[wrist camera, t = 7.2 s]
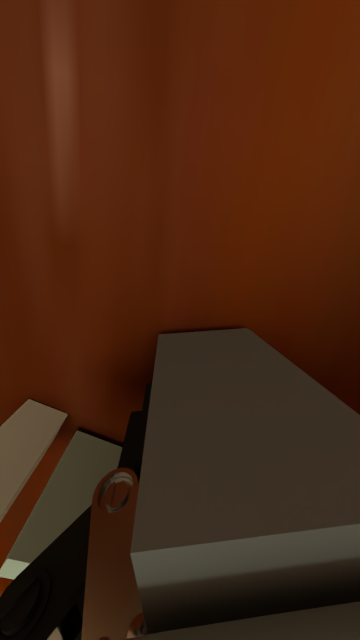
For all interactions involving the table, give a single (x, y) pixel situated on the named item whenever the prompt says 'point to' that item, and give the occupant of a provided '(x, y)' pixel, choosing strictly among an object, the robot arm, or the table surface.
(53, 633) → the robot arm
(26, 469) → the pale rectangular blocks
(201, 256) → the table surface
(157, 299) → the table surface
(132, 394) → the table surface
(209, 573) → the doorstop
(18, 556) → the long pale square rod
